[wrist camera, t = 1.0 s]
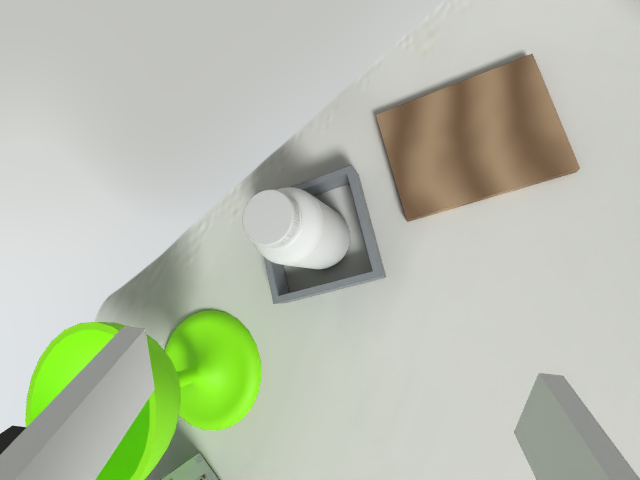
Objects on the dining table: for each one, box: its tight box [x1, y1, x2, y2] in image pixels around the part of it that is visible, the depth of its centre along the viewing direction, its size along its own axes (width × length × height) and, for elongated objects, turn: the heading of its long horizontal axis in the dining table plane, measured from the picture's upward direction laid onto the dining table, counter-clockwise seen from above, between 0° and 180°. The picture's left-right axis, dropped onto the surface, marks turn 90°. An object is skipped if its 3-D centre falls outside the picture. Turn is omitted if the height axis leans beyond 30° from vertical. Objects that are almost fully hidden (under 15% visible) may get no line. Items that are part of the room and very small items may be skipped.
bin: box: [264, 165, 386, 304], centre depth 44 cm, size 14×14×4 cm
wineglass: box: [26, 310, 261, 480], centre depth 40 cm, size 16×16×18 cm
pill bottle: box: [243, 187, 350, 269], centre depth 38 cm, size 8×8×15 cm
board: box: [376, 54, 580, 222], centre depth 40 cm, size 18×14×1 cm
